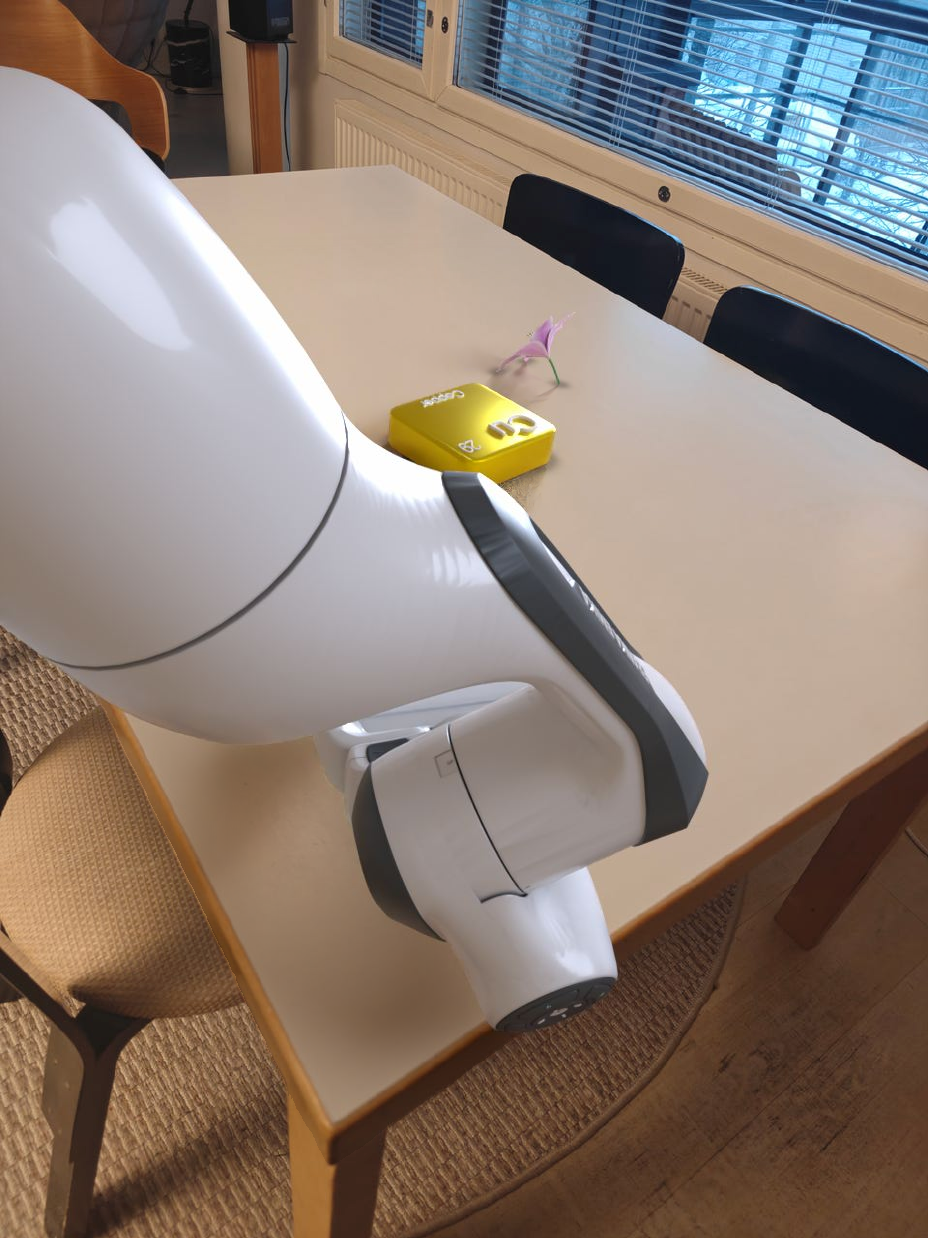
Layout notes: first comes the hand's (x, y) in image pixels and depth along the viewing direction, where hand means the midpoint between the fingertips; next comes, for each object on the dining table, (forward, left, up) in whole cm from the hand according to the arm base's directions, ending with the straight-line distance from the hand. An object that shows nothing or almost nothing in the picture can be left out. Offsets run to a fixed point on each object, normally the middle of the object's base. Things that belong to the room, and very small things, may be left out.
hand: (429, 639), depth 67 cm
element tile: (+15, +39, -7) cm, 42 cm away
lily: (+30, +59, -7) cm, 66 cm away
